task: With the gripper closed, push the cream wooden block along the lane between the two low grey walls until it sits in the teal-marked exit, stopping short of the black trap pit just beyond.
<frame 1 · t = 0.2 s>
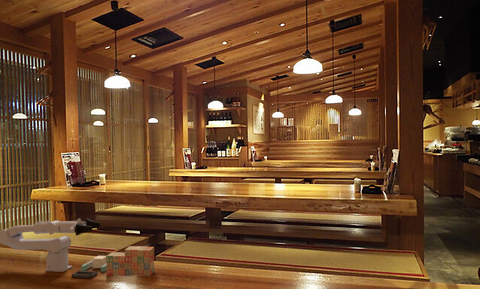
hand: (96, 226, 186), 21 cm above the table, tool horizontal, fingers open, 7 cm apart
stack of blocks: (130, 274, 181), on the table
cream block: (100, 267, 191), on the table
trap pit: (84, 276, 178), on the table
lane walls: (98, 268, 189), on the table
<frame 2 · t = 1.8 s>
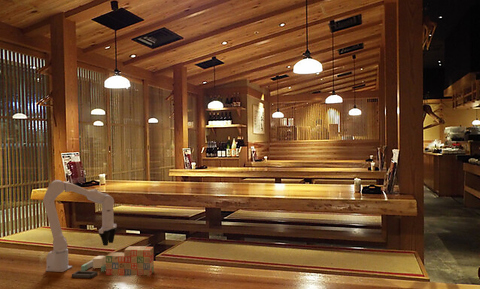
hand: (108, 244, 199), 9 cm above the table, tool pointing down, fingers open, 5 cm apart
nothing on the table moved.
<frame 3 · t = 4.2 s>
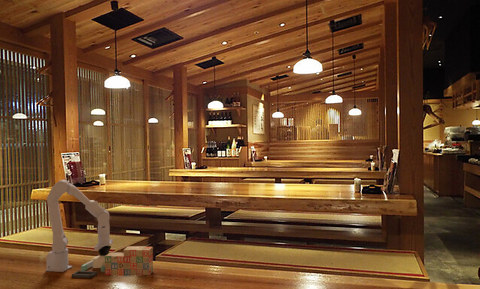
hand: (104, 260, 195), 2 cm above the table, tool pointing down, fingers closed
cream block: (100, 267, 191), on the table, touching gripper
everything else where it was.
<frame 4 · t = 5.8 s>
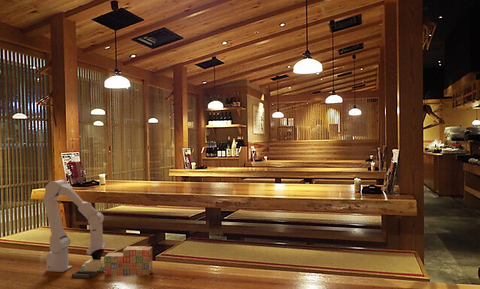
hand: (97, 264, 188), 2 cm above the table, tool pointing down, fingers closed
cream block: (92, 271, 184), on the table, touching gripper
everything else where it was.
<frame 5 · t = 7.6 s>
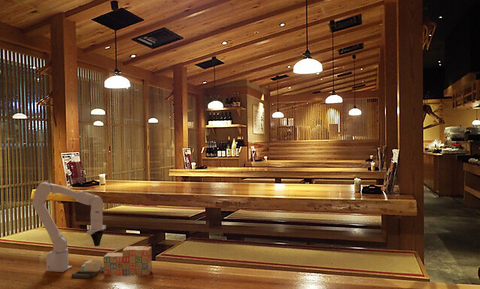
hand: (97, 245, 196), 9 cm above the table, tool pointing down, fingers closed
cream block: (92, 271, 184), on the table
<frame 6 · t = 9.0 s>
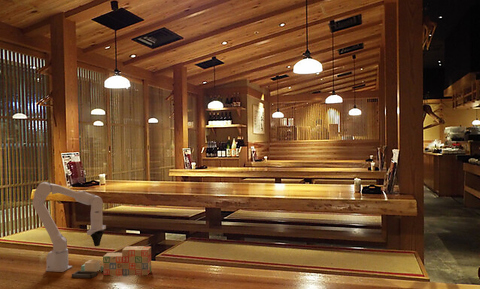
hand: (97, 245, 196), 9 cm above the table, tool pointing down, fingers closed
at the end: cream block 0.7 cm from the target spot, on the table; cream block tilted 0°; cream block touching table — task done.
